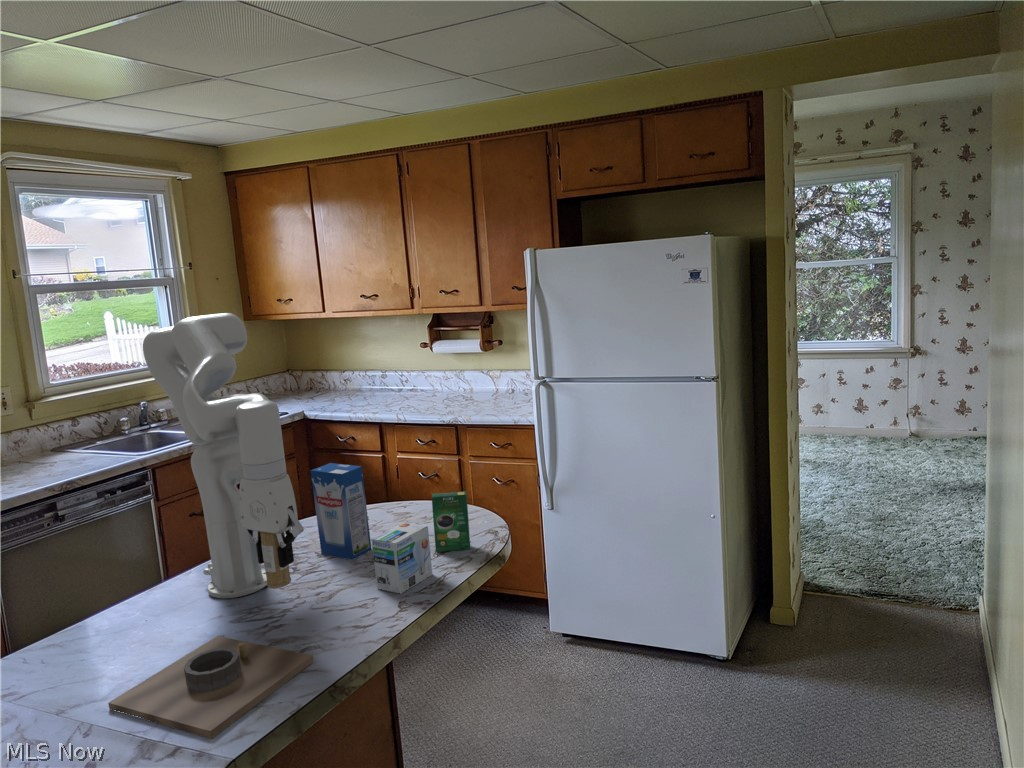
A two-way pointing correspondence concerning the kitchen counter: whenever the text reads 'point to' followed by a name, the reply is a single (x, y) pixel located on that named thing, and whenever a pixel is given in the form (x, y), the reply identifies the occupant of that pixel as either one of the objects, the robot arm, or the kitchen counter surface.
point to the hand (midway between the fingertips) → (276, 561)
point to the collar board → (211, 704)
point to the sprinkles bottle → (273, 562)
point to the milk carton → (341, 510)
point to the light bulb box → (402, 557)
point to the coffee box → (451, 521)
